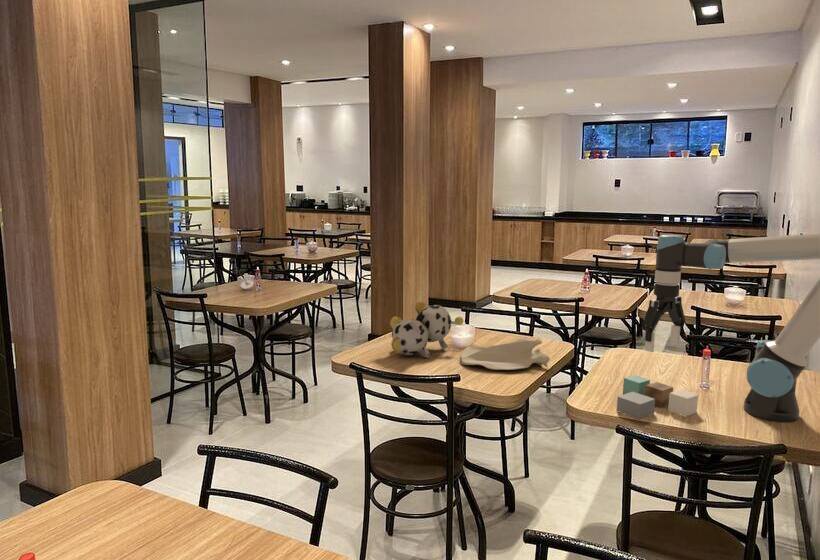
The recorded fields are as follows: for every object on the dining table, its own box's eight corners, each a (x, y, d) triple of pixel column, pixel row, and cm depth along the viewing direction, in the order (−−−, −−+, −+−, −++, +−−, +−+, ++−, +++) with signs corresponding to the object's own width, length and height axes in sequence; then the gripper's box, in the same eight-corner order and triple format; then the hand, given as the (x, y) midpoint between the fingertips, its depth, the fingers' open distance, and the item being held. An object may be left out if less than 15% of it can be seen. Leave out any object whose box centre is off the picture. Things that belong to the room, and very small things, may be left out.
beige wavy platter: (540, 374, 220) (541, 395, 226) (552, 338, 235) (553, 359, 241) (448, 361, 235) (451, 381, 241) (465, 327, 250) (468, 347, 256)
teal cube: (648, 396, 205) (650, 379, 204) (637, 400, 201) (639, 383, 200) (633, 391, 210) (634, 374, 209) (622, 394, 206) (623, 378, 205)
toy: (372, 322, 245) (406, 334, 231) (428, 290, 265) (462, 299, 251) (381, 366, 253) (414, 380, 240) (434, 332, 273) (467, 343, 260)
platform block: (653, 414, 190) (655, 398, 189) (639, 419, 185) (640, 404, 185) (631, 406, 196) (632, 391, 196) (616, 411, 192) (617, 396, 191)
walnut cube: (671, 404, 198) (673, 387, 197) (660, 408, 194) (662, 390, 193) (655, 399, 203) (656, 381, 202) (644, 402, 199) (645, 385, 198)
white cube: (696, 413, 191) (698, 394, 190) (685, 417, 188) (687, 398, 187) (678, 407, 196) (680, 389, 195) (668, 410, 192) (669, 392, 191)
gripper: (679, 278, 202) (674, 339, 206) (632, 285, 189) (627, 350, 192) (700, 281, 196) (694, 344, 200) (653, 289, 182) (648, 356, 186)
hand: (661, 348), depth 196 cm, fingers open, 13 cm apart
